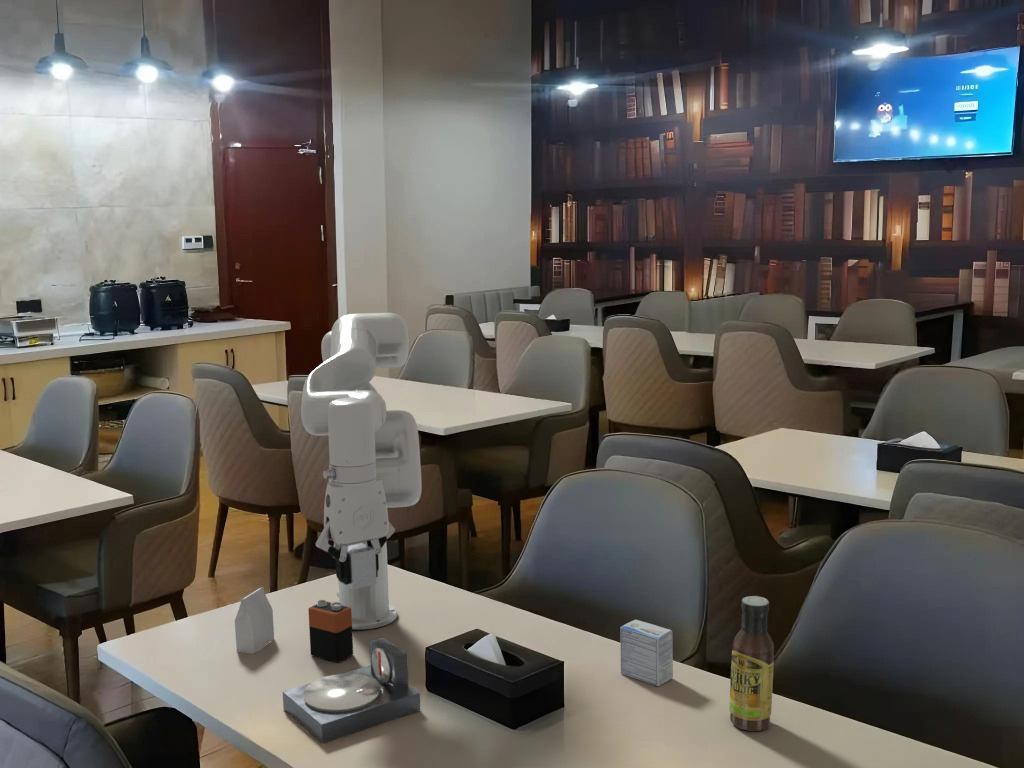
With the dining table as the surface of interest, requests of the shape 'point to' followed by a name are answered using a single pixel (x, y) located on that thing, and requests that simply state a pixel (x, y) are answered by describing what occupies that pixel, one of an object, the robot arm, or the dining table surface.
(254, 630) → the grey house-shaped block
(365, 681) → the dial scale
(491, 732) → the dining table surface
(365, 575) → the light grey rectangular block
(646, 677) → the medicine box
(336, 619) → the battery
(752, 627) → the sauce bottle
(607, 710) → the dining table surface
